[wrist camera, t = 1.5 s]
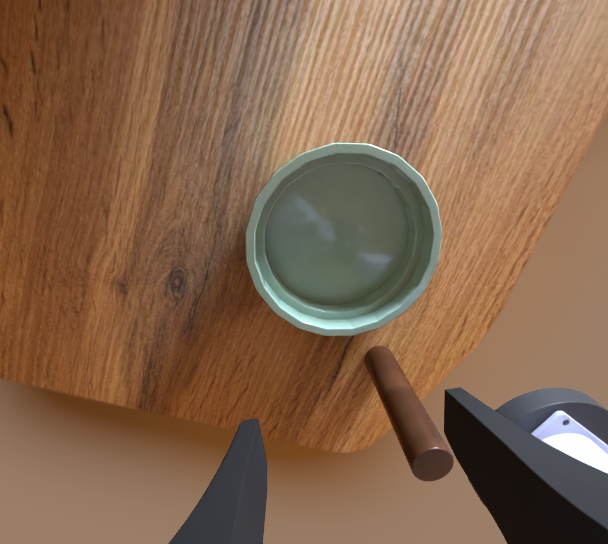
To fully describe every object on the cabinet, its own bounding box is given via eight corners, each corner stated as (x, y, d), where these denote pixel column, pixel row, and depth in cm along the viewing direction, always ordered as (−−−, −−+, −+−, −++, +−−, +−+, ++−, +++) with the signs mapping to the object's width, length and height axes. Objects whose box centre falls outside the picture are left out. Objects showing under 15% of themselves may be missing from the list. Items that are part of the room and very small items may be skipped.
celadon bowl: (454, 219, 22) (481, 228, 19) (346, 341, 24) (356, 366, 21) (322, 103, 19) (331, 94, 16) (215, 253, 21) (205, 268, 18)
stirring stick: (397, 354, 25) (463, 460, 16) (379, 374, 25) (433, 487, 17) (377, 340, 24) (432, 441, 16) (358, 361, 25) (403, 470, 16)
